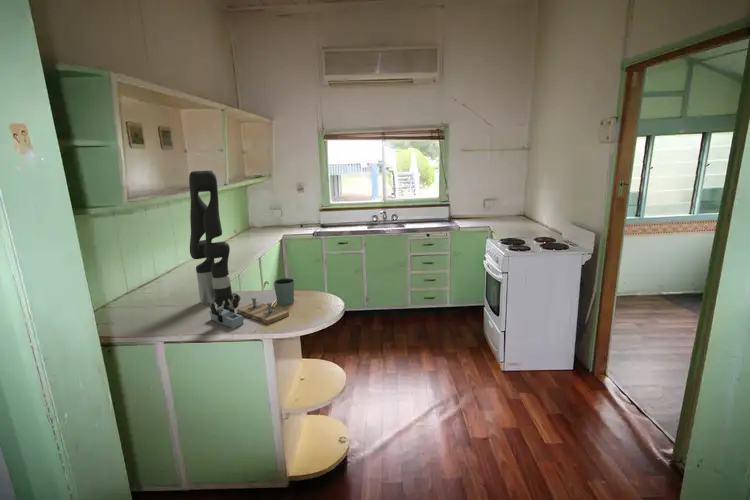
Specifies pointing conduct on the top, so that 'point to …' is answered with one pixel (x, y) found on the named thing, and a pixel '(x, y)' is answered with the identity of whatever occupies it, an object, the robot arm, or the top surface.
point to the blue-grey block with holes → (229, 318)
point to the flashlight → (232, 301)
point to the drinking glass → (284, 291)
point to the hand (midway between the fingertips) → (226, 319)
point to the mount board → (263, 312)
